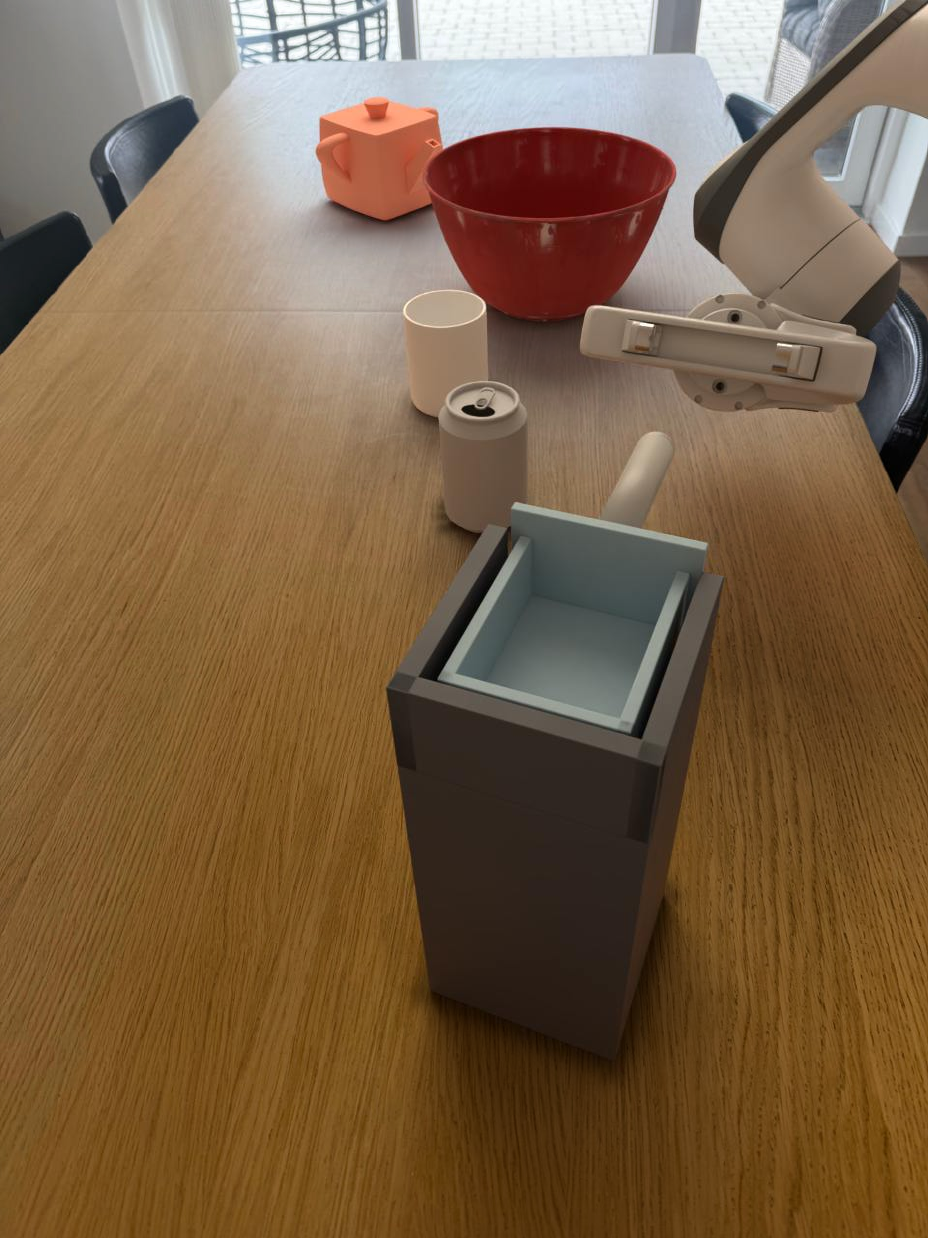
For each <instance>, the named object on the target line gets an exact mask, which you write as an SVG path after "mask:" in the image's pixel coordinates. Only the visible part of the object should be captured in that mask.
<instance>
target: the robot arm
mask: <svg viewBox="0 0 928 1238" xmlns="http://www.w3.org/2000/svg"><path fill="white" fill-rule="evenodd" d="M873 106H882V107H889V108H893V109H897V110H901V111H903V112H904V111H905V112H907V113H910V114H913V115H917V116H919V117H921V118H924V119H926V120H928V0H898V1H896V2H895V3H894V4H892V5H891V6H890V7H888V9H886V10H885V11H883V12H882V14H880V15H879V16H878V17H876V18H875V19H874V20H873V21H872V22H871V23H870V24H869V25H868V26H867V27H866V28H865V29H863V30H862V31H861V32H860V33H859V34H858V35H857V36H856V37H855V38H854V39H853V40H851V42H849V43H848V44H847V45H846V46H845V47H844V48H843V49H842V50H841V51H840V52H839V53H837V54H836V55H835V56H834V57H833V58H832V59H831V60H830V61H829V62H828V63H827V64H826V65H825V66H824V67H823V68H821V70H819V72H817V74H815V75H814V76H813V77H812V78H811V79H810V81H808V82H807V83H806V84H805V85H804V86H803V87H802V88H801V89H800V90H799V91H798V92H797V93H796V94H795V95H794V96H793V97H792V98H791V99H790V100H789V101H788V102H787V103H786V104H784V106H783V107H782V108H780V110H779V111H777V112H776V114H775V115H773V117H771V119H769V120H768V121H767V122H766V123H765V124H764V125H763V127H761V128H760V129H759V130H758V131H757V132H756V133H755V134H754V135H753V136H752V137H751V138H750V139H748V140H747V141H744V143H741V144H740V145H739V146H737V147H736V148H735V149H733V150H732V151H731V152H729V153H728V154H727V155H726V156H724V157H723V158H722V159H721V160H719V162H718V163H717V164H716V165H715V166H714V167H713V168H712V169H711V170H710V171H709V172H708V174H707V175H706V176H705V178H704V179H703V180H702V182H701V184H700V186H699V188H697V190H696V192H695V193H694V198H693V205H692V206H693V208H692V223H693V224H692V225H693V235H694V236H693V237H694V240H695V241H696V242H698V243H699V244H700V245H701V246H702V247H703V248H704V249H705V250H706V251H708V253H709V254H711V255H712V256H713V257H714V259H716V260H717V261H718V262H719V263H720V264H722V265H724V266H725V267H726V268H727V269H728V270H729V271H730V273H732V274H733V276H734V277H735V278H736V279H737V280H738V281H739V282H740V283H741V284H742V285H743V286H744V288H745V289H746V290H747V291H748V292H749V293H750V294H749V293H744V292H727V293H721V294H717V295H713V296H712V297H710V298H707V299H705V300H704V301H702V302H700V303H699V304H698V305H696V306H695V307H694V308H692V310H691V311H690V312H689V313H688V314H687V315H686V316H679V315H673V314H665V313H657V312H651V311H644V310H636V309H629V308H623V307H615V306H608V305H602V304H601V305H594V306H590V307H589V308H588V309H587V311H586V313H585V314H584V317H583V324H582V329H581V334H580V340H579V341H580V342H579V351H580V353H581V354H582V355H583V356H585V357H589V358H596V359H601V360H607V361H614V362H619V363H627V364H633V365H639V366H646V367H651V368H659V369H664V370H671V371H673V375H674V378H675V380H676V382H677V384H678V386H679V387H680V389H681V390H682V392H683V393H684V394H685V395H686V396H687V397H688V398H689V399H690V400H691V401H692V402H694V403H695V404H697V405H699V406H700V407H702V408H705V409H707V410H711V411H715V412H723V413H730V412H732V413H733V412H739V411H743V410H745V411H746V412H753V411H759V410H767V409H778V410H794V411H806V412H812V413H819V412H822V413H834V412H836V411H837V409H838V406H842V405H843V406H845V405H851V404H855V403H858V402H860V401H862V400H863V399H864V397H865V394H866V392H867V388H868V386H869V382H870V379H871V375H872V371H873V367H874V362H875V359H876V355H877V344H876V343H874V341H872V340H870V339H868V338H866V336H867V335H868V334H869V333H870V332H871V331H872V330H873V329H874V328H875V327H876V326H877V324H878V323H879V322H880V321H881V320H882V319H883V318H884V316H885V315H886V313H887V312H888V311H889V310H890V308H891V307H892V305H894V303H895V301H896V298H897V295H898V291H899V286H900V283H901V282H900V281H901V275H902V274H901V273H902V265H901V260H900V259H898V257H897V256H896V255H895V253H894V252H893V251H892V250H891V249H890V248H889V246H887V244H886V243H885V242H884V241H883V240H882V239H881V238H880V237H879V235H878V234H877V233H876V232H875V231H874V230H873V229H872V228H871V227H870V226H869V225H868V223H867V222H866V221H865V220H864V219H862V218H861V217H859V215H858V214H857V213H856V212H855V211H854V210H853V209H852V207H850V205H849V204H847V202H846V201H845V200H844V199H843V198H842V197H841V196H840V195H839V193H838V192H837V191H836V190H835V189H834V188H833V187H832V186H831V185H830V184H829V183H828V182H827V180H826V179H825V178H824V177H823V176H822V174H821V173H820V171H819V169H818V167H817V165H816V161H815V157H814V154H815V152H816V151H817V150H818V149H820V147H822V146H823V145H824V144H825V143H826V142H827V141H829V140H830V139H831V138H832V137H833V136H835V135H836V133H838V132H839V131H840V130H842V129H843V128H844V127H845V126H846V125H847V124H848V123H849V122H850V121H852V120H853V119H854V118H856V116H858V114H860V113H861V112H862V111H863V110H865V108H867V107H873Z"/></svg>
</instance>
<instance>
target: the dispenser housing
mask: <svg viewBox="0 0 928 1238" xmlns="http://www.w3.org/2000/svg"><path fill="white" fill-rule="evenodd" d="M508 528H509V527H508ZM508 528H504V527H500V526H495V525H491V524H488V525H487V527H486V528H485V530H484V532H483V533H481V535H480V537H479V538H478V540H477V541H476V543H475V544H474V546H473V547H472V549H471V551H470V552H469V554H468V555H467V557H466V558H465V560H464V561H463V563H462V564H461V567H460V568H459V570H458V571H457V573H456V574H455V576H454V578H453V579H452V581H451V582H450V584H449V586H448V587H447V589H446V591H445V592H444V593H443V596H442V597H441V599H440V600H439V601H438V603H437V605H436V606H435V608H434V610H433V611H432V613H431V614H430V616H429V618H428V619H427V621H426V622H425V624H424V625H423V627H422V628H421V630H420V632H419V634H418V635H417V637H416V638H415V640H414V642H413V643H412V645H411V647H410V648H409V650H408V651H407V653H406V654H405V656H404V657H403V659H402V660H401V662H400V664H399V665H398V667H397V669H396V670H395V672H394V673H393V675H392V677H391V678H390V680H389V681H388V683H387V685H386V686H385V692H386V699H387V707H388V713H389V720H390V726H391V734H392V740H393V746H394V751H395V752H394V753H395V761H396V766H397V774H398V778H399V779H398V780H399V787H400V794H401V800H402V808H403V814H404V821H405V828H406V835H407V842H408V849H409V856H410V863H411V868H412V876H413V883H414V889H415V896H416V902H417V911H418V917H419V924H420V931H421V937H422V944H423V951H424V959H425V965H426V966H425V967H426V972H427V973H426V974H427V980H428V985H429V991H431V992H433V993H436V994H438V995H440V996H443V997H446V998H448V999H451V1000H453V1001H456V1002H459V1003H461V1004H464V1005H467V1006H469V1007H471V1008H474V1009H476V1010H480V1011H481V1012H485V1013H487V1014H490V1015H492V1016H495V1017H498V1018H499V1019H503V1020H505V1021H508V1022H511V1023H512V1024H516V1025H518V1026H521V1027H522V1028H526V1029H528V1030H531V1031H534V1032H537V1033H539V1034H541V1035H544V1036H546V1037H549V1038H551V1039H554V1040H557V1041H559V1042H562V1043H564V1044H567V1045H570V1046H573V1047H575V1048H577V1049H580V1050H582V1051H585V1052H588V1053H591V1054H594V1055H595V1056H598V1057H601V1058H603V1059H606V1060H608V1061H611V1062H615V1061H616V1058H617V1054H618V1051H619V1048H620V1045H621V1041H622V1038H623V1034H624V1030H625V1027H626V1024H627V1021H628V1017H629V1014H630V1010H631V1006H632V1004H633V1000H634V997H635V994H636V990H637V987H638V983H639V980H640V977H641V974H642V971H643V967H644V962H645V959H646V957H647V953H648V949H649V946H650V944H651V940H652V936H653V934H654V933H653V932H654V929H655V925H656V923H657V919H658V916H659V912H660V909H661V906H662V903H663V899H664V896H665V890H666V887H667V886H666V885H667V881H668V875H669V870H670V865H671V860H672V855H673V850H674V846H675V845H674V844H675V838H676V833H677V828H678V822H679V818H680V813H681V808H682V802H683V797H684V791H685V787H686V781H687V776H688V771H689V765H690V760H691V754H692V749H693V744H694V739H695V733H696V729H697V723H698V718H699V713H700V707H701V704H702V703H701V702H702V697H703V692H704V688H705V687H704V686H705V681H706V677H707V671H708V667H709V666H708V665H709V660H710V655H711V650H712V645H713V640H714V635H715V629H716V624H717V618H718V613H719V608H720V604H721V598H722V592H723V587H724V581H725V576H724V575H719V574H716V573H710V572H708V571H707V572H706V571H704V572H702V573H701V575H700V578H699V581H698V583H697V586H696V589H695V592H694V595H693V597H692V600H691V603H690V606H689V608H688V611H687V614H686V617H685V620H684V622H683V625H682V628H681V631H680V634H679V636H678V639H677V642H676V645H675V648H674V650H673V653H672V656H671V659H670V662H669V664H668V667H667V670H666V673H665V675H664V678H663V681H662V684H661V687H660V689H659V692H658V695H657V698H656V701H655V703H654V706H653V709H652V712H651V715H650V717H649V720H648V723H647V726H646V728H645V731H644V734H643V737H642V739H638V738H634V737H631V736H627V735H624V734H620V733H617V732H613V731H609V730H606V729H602V728H599V727H595V726H592V725H588V724H584V723H581V722H577V721H574V720H570V719H567V718H563V717H559V716H556V715H552V714H549V713H545V712H542V711H538V710H534V709H531V708H527V707H524V706H520V705H517V704H513V703H509V702H506V701H502V700H499V699H495V698H492V697H488V696H484V695H481V694H477V693H474V692H470V691H467V690H463V689H459V688H456V687H452V686H449V685H445V684H442V683H438V682H437V679H438V677H439V675H440V674H441V672H442V670H443V669H444V667H445V665H446V663H447V662H448V660H449V658H450V657H451V655H452V653H453V651H454V650H455V648H456V646H457V644H458V643H459V641H460V639H461V638H462V636H463V634H464V632H465V631H466V629H467V627H468V626H469V624H470V622H471V620H472V619H473V617H474V615H475V614H476V612H477V610H478V608H479V607H480V605H481V603H482V601H483V600H484V598H485V596H486V595H487V593H488V591H489V589H490V588H491V586H492V584H493V583H494V581H495V579H496V577H497V576H498V574H499V572H500V570H501V569H502V567H503V565H504V564H505V562H506V560H507V558H508V557H509V529H508Z"/></svg>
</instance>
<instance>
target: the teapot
mask: <svg viewBox="0 0 928 1238" xmlns="http://www.w3.org/2000/svg"><path fill="white" fill-rule="evenodd" d="M439 118H440V116H439V112H438V110H437V109H436V108H435V107H431V106H422V107H417V108H416V107H413V106H410V105H406V104H404V103H399V102H396V101H391V100H390V99H389V98H387V97H384V96H372V97H369V98H366V99H365V100H364V101H363V102H362V103H359V104H355V105H352V106H349V107H345V108H343V109H339V110H336V111H333V112H330V113H327V114H323V115H321V116H320V117H319V118H318V119H319V121H318V122H319V123H318V127H319V129H318V132H319V143H317V145H316V147H315V155H316V158H317V160H318V162H319V164H320V170H321V176H322V178H321V179H322V184H323V188H324V191H325V194H326V197H327V198H328V199H329V200H331V201H333V202H335V203H337V204H339V205H341V206H343V207H345V208H347V209H350V210H352V211H354V212H357V213H361V214H363V215H366V216H369V217H372V218H375V219H378V220H381V221H388V220H391V219H395V218H398V217H400V216H402V215H405V214H408V213H410V212H413V211H416V210H418V209H421V208H424V207H426V206H428V205H431V204H432V202H431V199H430V195H429V192H428V190H427V188H426V187H425V185H424V182H423V170H424V168H425V166H426V164H427V162H428V161H429V160H430V159H431V158H432V157H433V156H434V155H436V154H437V153H438V152H440V151H441V150H443V149H444V147H443V140H442V134H441V130H440V129H441V128H440V123H439Z"/></svg>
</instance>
